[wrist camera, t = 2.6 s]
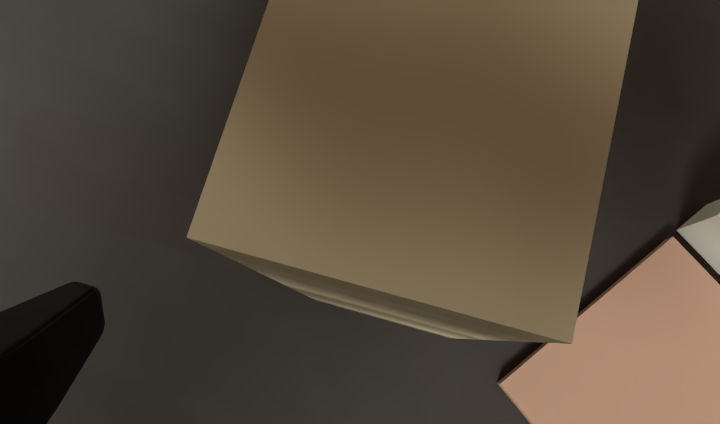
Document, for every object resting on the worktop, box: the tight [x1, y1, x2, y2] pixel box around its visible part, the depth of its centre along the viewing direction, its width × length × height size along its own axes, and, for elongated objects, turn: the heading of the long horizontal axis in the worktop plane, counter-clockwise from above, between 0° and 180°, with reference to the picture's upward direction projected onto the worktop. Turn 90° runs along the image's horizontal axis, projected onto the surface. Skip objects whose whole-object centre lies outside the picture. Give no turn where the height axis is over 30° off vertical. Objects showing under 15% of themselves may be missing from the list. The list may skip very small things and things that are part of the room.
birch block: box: [187, 0, 638, 344], centre depth 14 cm, size 5×5×13 cm
